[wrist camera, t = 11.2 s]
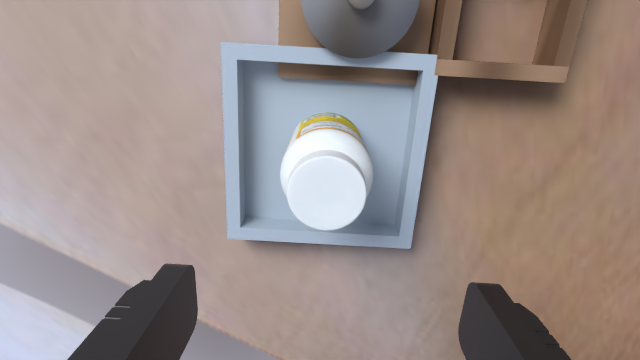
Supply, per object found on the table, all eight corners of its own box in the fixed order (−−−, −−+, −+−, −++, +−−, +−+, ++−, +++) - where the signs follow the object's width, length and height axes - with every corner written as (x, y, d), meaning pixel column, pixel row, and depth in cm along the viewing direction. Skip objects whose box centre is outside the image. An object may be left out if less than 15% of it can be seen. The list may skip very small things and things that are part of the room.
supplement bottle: (322, 95, 25) (321, 117, 16) (376, 143, 26) (404, 189, 17) (275, 150, 27) (251, 199, 18) (329, 194, 28) (332, 261, 19)
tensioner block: (581, -72, 22) (640, -102, 18) (539, 91, 26) (581, 98, 21) (283, -91, 22) (273, -125, 18) (280, 76, 25) (271, 79, 21)
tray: (430, 55, 25) (441, 55, 23) (403, 233, 30) (410, 248, 27) (230, 43, 25) (220, 42, 22) (235, 224, 29) (227, 238, 27)
